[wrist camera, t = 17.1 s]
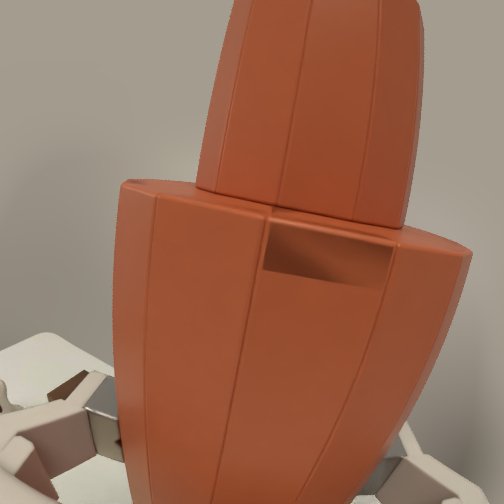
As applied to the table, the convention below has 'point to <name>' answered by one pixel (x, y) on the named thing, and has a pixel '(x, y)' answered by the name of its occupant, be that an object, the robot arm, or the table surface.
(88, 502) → the table surface
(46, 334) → the table surface
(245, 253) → the orange bottle
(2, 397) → the cat figurine
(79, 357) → the table surface
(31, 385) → the table surface
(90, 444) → the robot arm
